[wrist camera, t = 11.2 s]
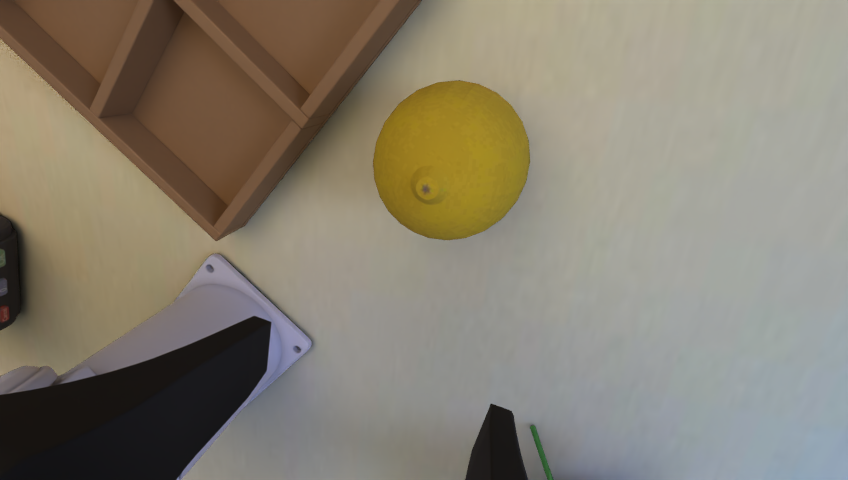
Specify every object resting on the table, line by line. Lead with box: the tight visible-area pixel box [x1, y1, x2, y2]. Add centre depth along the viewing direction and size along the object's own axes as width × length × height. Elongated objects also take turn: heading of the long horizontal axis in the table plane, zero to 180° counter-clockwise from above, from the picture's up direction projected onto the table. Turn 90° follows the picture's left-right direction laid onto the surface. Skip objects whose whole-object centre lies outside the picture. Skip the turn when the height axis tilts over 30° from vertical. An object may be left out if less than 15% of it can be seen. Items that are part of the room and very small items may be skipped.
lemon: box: [373, 81, 530, 240], centre depth 16 cm, size 6×6×8 cm
